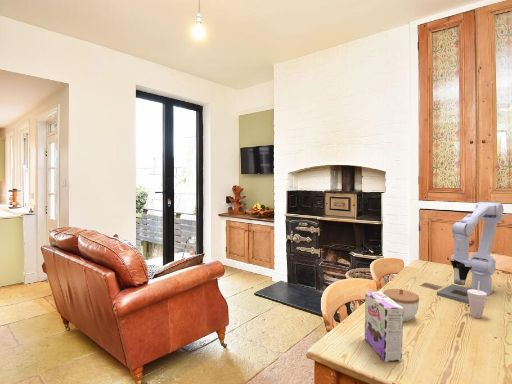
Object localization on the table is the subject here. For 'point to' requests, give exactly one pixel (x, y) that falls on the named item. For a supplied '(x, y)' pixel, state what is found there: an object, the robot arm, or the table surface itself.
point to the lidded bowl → (404, 301)
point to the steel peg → (457, 277)
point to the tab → (431, 286)
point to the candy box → (384, 326)
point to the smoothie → (476, 301)
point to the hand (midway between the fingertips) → (460, 278)
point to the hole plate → (452, 289)
